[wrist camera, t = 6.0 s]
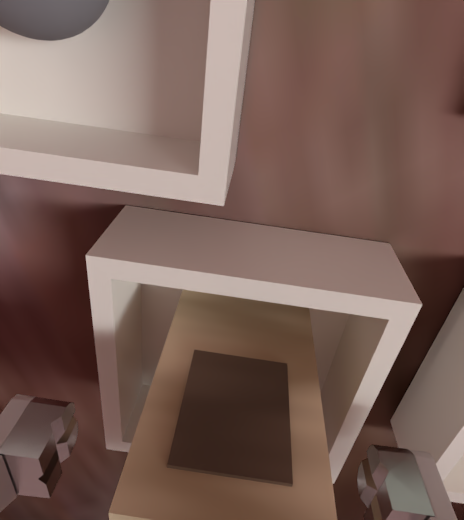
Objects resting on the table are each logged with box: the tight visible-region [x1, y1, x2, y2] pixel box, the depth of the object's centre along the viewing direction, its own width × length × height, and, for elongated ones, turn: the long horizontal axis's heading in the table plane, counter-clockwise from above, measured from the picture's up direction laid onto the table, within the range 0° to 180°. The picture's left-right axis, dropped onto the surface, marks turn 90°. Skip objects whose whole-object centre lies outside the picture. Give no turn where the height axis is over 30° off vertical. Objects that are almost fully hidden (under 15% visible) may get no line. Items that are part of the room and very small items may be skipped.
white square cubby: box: [85, 205, 423, 484], centre depth 13 cm, size 8×8×3 cm
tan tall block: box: [109, 289, 337, 520], centre depth 10 cm, size 4×4×7 cm
